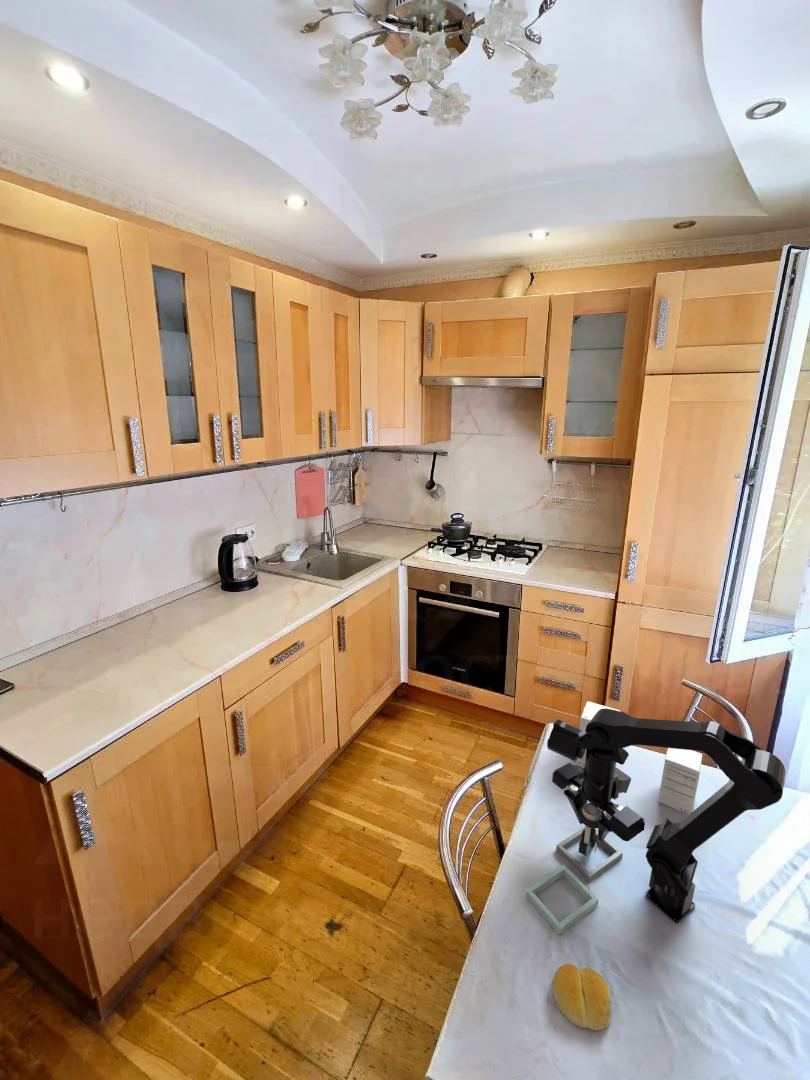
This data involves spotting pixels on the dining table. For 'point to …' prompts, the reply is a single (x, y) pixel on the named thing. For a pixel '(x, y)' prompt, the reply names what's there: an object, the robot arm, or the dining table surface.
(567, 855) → the grey rectangular frame
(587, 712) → the supplement box
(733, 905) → the dining table surface
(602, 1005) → the bread roll
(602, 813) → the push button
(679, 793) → the supplement box
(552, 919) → the mint green frame
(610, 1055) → the dining table surface
